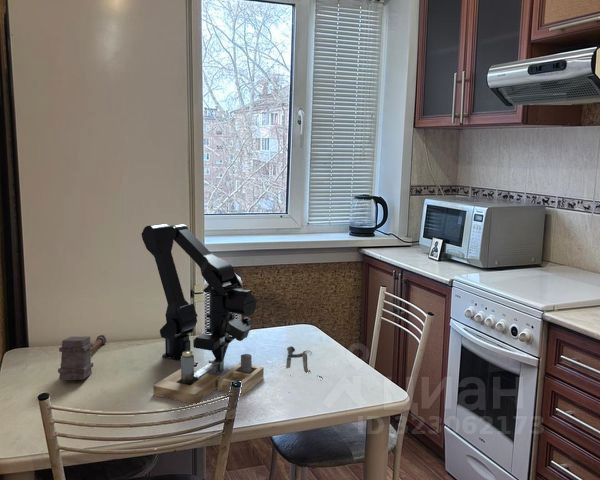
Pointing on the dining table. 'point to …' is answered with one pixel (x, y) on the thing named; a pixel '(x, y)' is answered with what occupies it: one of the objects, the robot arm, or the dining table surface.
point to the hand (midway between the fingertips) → (220, 363)
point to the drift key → (210, 368)
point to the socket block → (186, 387)
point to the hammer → (77, 357)
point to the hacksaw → (291, 349)
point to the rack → (242, 375)
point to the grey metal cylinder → (187, 368)
